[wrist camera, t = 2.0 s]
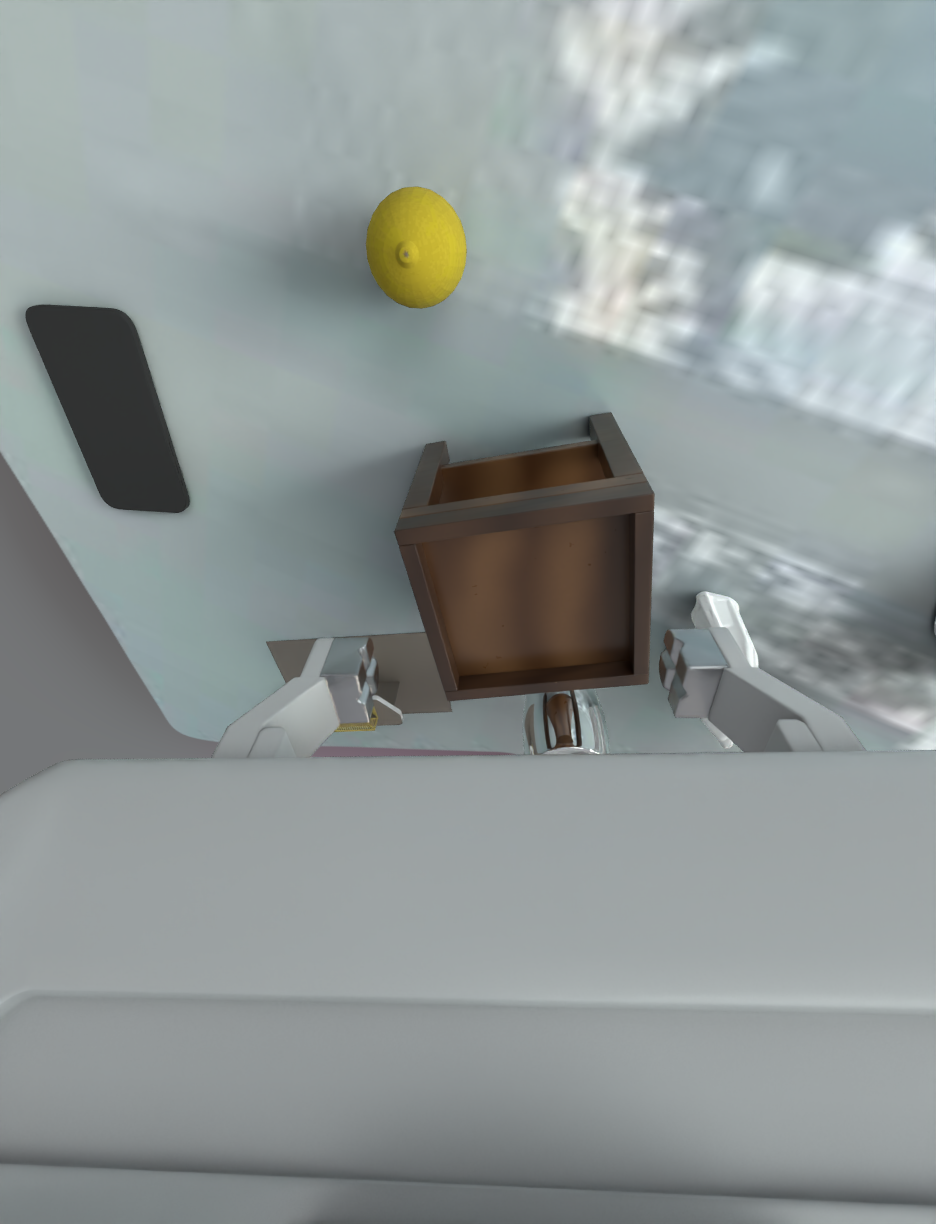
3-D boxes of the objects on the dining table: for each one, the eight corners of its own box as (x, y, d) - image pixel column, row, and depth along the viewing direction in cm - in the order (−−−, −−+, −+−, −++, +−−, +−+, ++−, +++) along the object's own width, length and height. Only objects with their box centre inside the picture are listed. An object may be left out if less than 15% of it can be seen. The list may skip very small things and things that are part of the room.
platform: (265, 641, 53) (239, 687, 48) (434, 631, 51) (426, 678, 46) (302, 717, 60) (283, 764, 55) (452, 711, 58) (446, 760, 53)
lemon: (484, 273, 32) (479, 286, 26) (408, 315, 34) (386, 337, 28) (445, 169, 29) (428, 155, 23) (365, 220, 31) (328, 221, 25)
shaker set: (690, 579, 45) (734, 665, 36) (739, 577, 45) (795, 664, 36) (669, 675, 53) (701, 766, 44) (711, 674, 52) (752, 766, 43)
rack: (611, 411, 37) (654, 493, 26) (614, 571, 45) (648, 684, 34) (425, 443, 39) (393, 531, 28) (461, 590, 48) (447, 701, 37)
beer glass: (506, 652, 52) (506, 780, 40) (547, 607, 48) (560, 733, 36) (561, 679, 54) (576, 809, 42) (604, 638, 50) (635, 768, 38)
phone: (125, 310, 34) (190, 514, 43) (132, 308, 35) (195, 509, 44) (17, 304, 34) (104, 508, 43) (26, 303, 35) (110, 504, 44)
